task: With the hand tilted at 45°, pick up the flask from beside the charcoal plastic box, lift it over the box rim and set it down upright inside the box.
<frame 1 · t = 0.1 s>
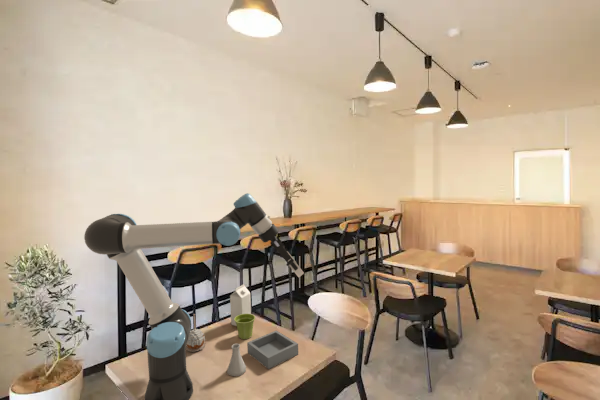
hand: (297, 269, 129), 36 cm above the table, tool tilted 35°, fingers open, 13 cm apart
milk carton: (241, 323, 160), on the table
flask: (236, 371, 122), on the table
decorative ornament: (195, 348, 139), on the table
open box: (272, 353, 134), on the table
plant pot: (245, 336, 148), on the table
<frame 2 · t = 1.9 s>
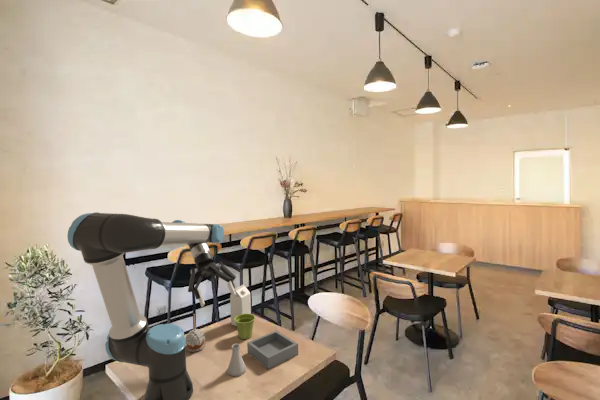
hand: (219, 300, 130), 24 cm above the table, tool tilted 45°, fingers open, 13 cm apart
nothing on the table moved.
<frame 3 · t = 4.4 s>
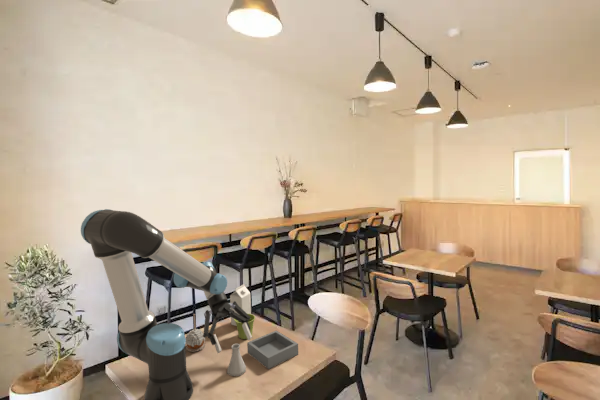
hand: (235, 345, 126), 8 cm above the table, tool tilted 45°, fingers open, 13 cm apart
nothing on the table moved.
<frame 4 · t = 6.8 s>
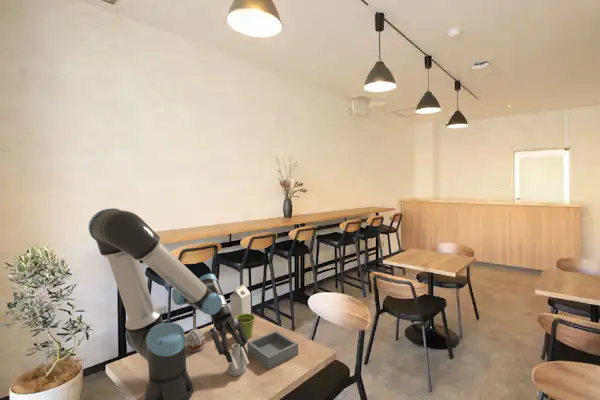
hand: (241, 367, 119), 3 cm above the table, tool tilted 45°, fingers closed on flask, 4 cm apart
flask: (236, 371, 122), on the table, touching gripper
everything else where it was.
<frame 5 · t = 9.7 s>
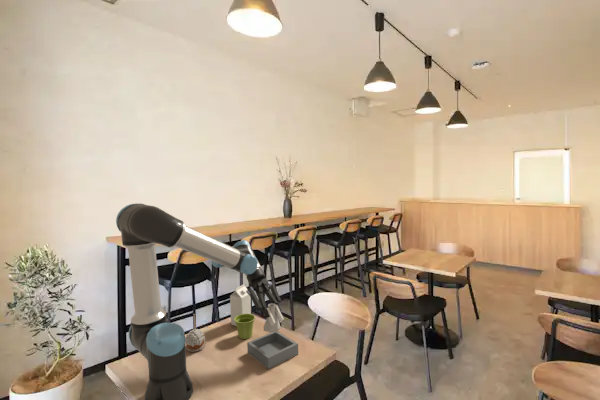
hand: (277, 322, 129), 15 cm above the table, tool tilted 45°, fingers closed on flask, 3 cm apart
flask: (272, 328, 133), point 11 cm above the table, touching gripper
everything else where it was.
when the fingers open (6 cm above the table, at t = 11.8 s): flask stays where it is, resting on open box.
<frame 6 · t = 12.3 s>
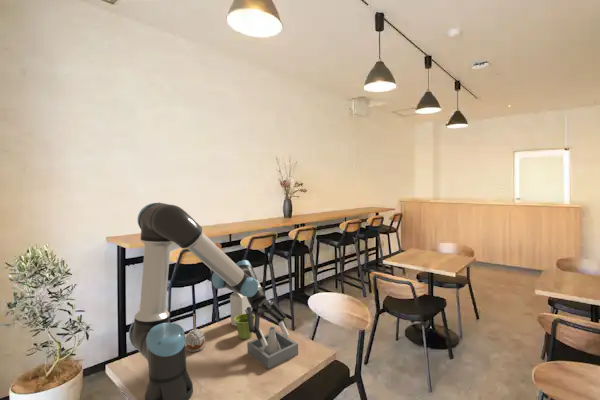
hand: (276, 341, 131), 7 cm above the table, tool tilted 45°, fingers open, 10 cm apart
flask: (272, 351, 134), point 1 cm above the table, touching open box
everything else where it was.
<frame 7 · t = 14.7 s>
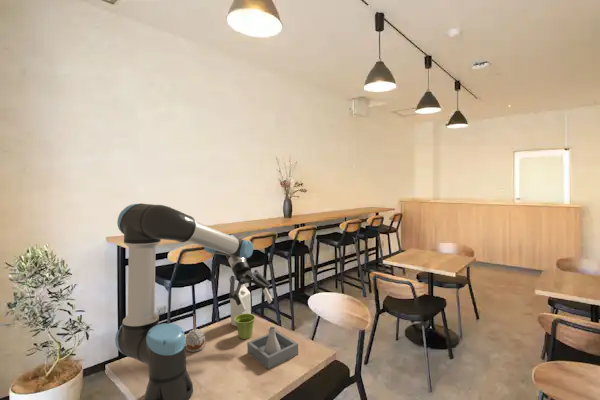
hand: (257, 306, 140), 17 cm above the table, tool tilted 45°, fingers open, 13 cm apart
nothing on the table moved.
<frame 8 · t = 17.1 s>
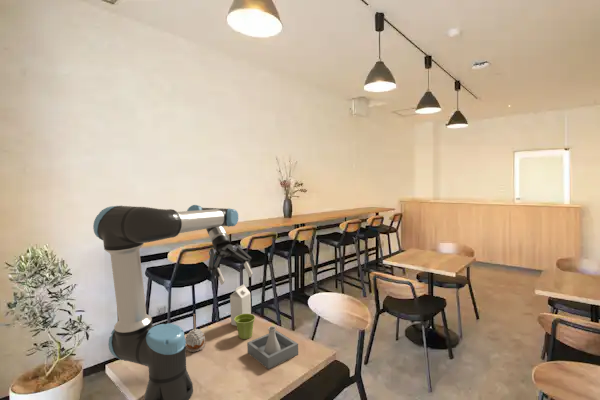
hand: (237, 279, 137), 30 cm above the table, tool tilted 45°, fingers open, 13 cm apart
nothing on the table moved.
at the end: flask inside the target area on the open box (0.1 cm from its centre), point 0.8 cm above the open box's base; flask tilted 0°; the gripper is holding nothing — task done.
